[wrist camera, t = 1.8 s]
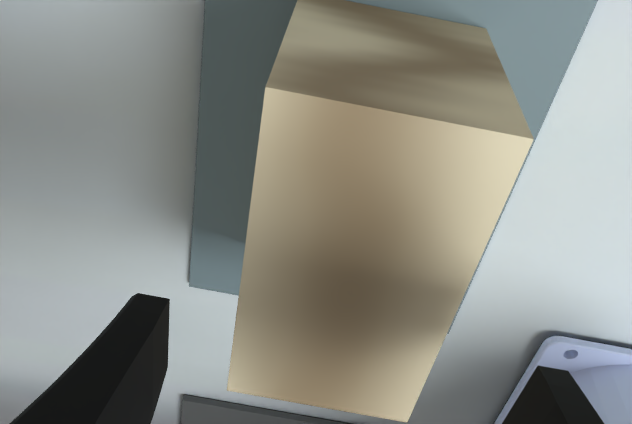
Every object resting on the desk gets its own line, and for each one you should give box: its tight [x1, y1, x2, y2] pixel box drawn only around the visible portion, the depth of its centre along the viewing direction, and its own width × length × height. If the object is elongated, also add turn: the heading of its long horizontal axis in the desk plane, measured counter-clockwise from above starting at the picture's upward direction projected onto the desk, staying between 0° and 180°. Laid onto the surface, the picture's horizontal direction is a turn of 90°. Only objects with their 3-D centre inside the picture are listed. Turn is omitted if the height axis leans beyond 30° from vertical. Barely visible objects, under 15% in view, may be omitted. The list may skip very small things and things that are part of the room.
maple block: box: [227, 0, 534, 422], centre depth 16 cm, size 5×9×6 cm, turn 170°
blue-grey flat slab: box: [189, 0, 598, 334], centre depth 18 cm, size 10×14×1 cm
